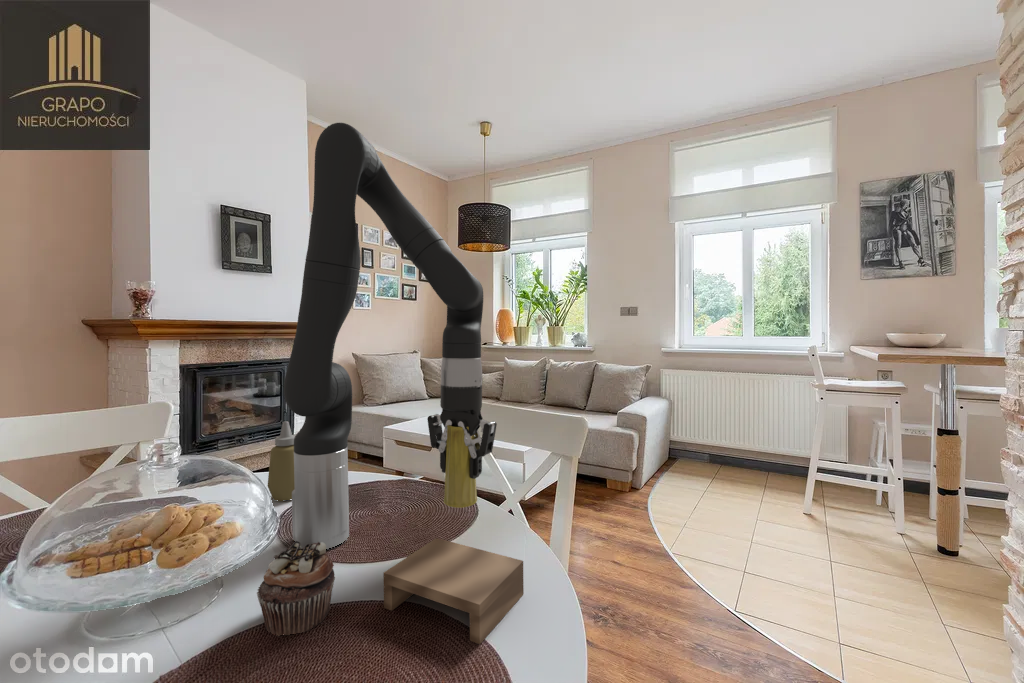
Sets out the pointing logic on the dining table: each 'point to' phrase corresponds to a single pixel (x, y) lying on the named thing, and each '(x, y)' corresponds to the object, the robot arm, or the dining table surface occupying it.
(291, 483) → the squeeze bottle
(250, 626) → the dining table surface
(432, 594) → the walnut shelf
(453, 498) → the vase
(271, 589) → the cupcake
